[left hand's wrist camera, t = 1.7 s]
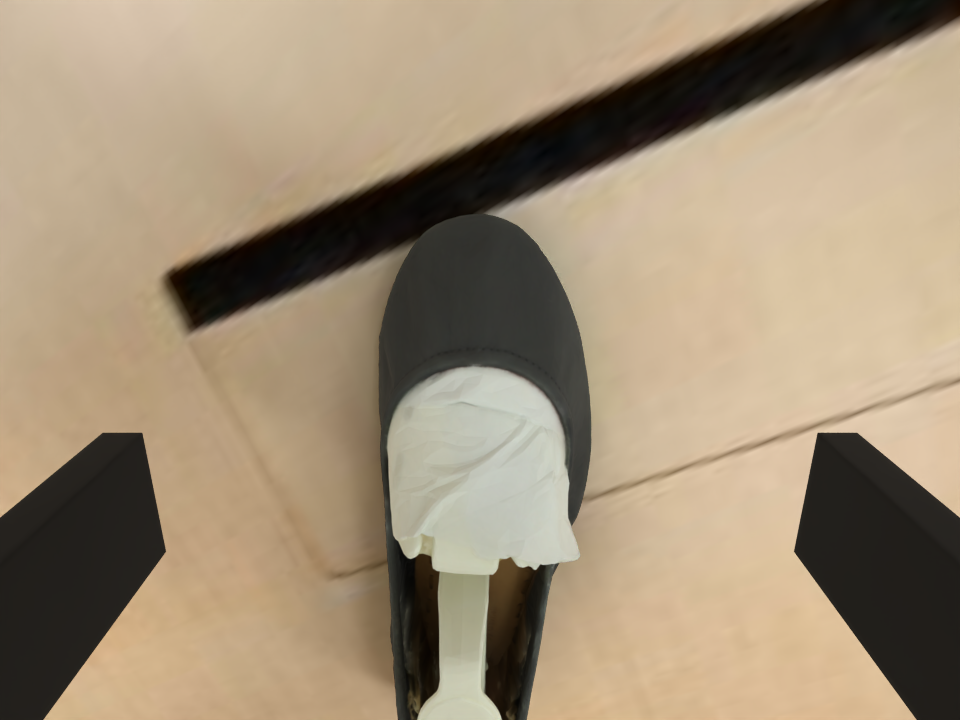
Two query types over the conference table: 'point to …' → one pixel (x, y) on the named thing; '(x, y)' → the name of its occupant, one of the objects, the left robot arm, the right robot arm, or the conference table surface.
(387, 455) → the ballet flat
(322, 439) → the conference table surface
